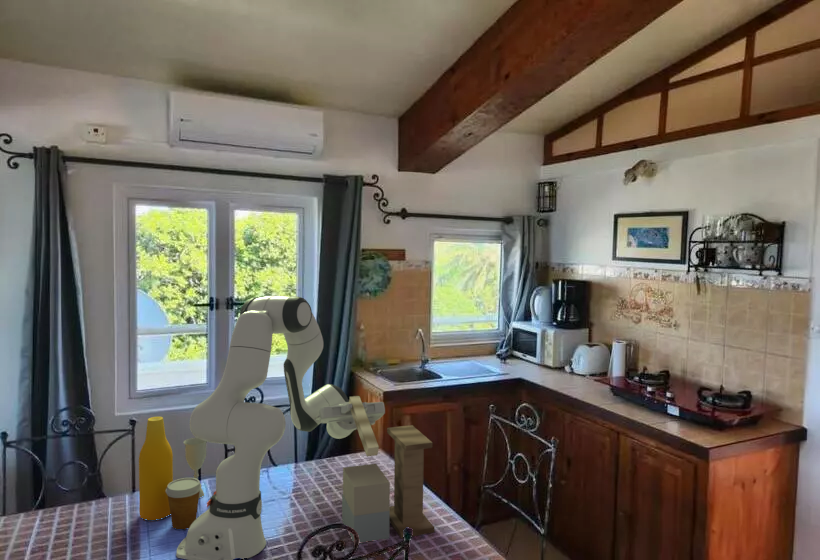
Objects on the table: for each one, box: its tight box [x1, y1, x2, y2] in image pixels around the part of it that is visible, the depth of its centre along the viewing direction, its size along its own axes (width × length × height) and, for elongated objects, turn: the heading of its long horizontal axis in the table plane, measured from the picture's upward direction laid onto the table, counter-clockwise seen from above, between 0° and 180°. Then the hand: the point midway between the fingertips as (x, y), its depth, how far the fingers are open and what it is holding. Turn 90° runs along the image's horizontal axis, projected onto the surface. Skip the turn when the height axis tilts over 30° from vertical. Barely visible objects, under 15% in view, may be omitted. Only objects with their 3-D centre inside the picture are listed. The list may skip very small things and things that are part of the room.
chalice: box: [183, 437, 208, 499], centre depth 176 cm, size 7×7×18 cm
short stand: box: [386, 424, 435, 539], centre depth 161 cm, size 16×10×26 cm, turn 21°
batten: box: [348, 395, 380, 457], centre depth 158 cm, size 22×3×3 cm, turn 21°
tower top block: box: [342, 463, 391, 516], centre depth 157 cm, size 14×10×8 cm
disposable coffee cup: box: [166, 477, 202, 530], centre depth 158 cm, size 10×10×12 cm
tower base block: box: [341, 494, 390, 542], centre depth 157 cm, size 14×10×8 cm
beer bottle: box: [138, 416, 174, 520], centre depth 164 cm, size 9×9×29 cm
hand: (357, 405), depth 164 cm, fingers closed on batten, 3 cm apart
